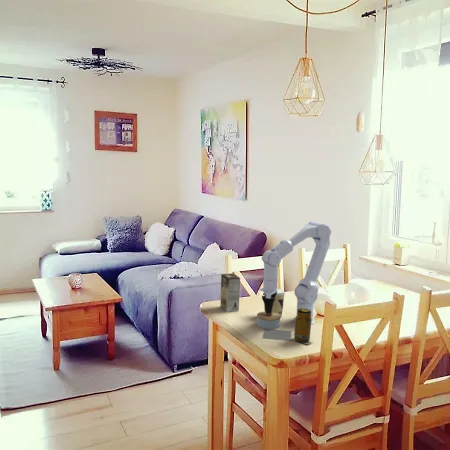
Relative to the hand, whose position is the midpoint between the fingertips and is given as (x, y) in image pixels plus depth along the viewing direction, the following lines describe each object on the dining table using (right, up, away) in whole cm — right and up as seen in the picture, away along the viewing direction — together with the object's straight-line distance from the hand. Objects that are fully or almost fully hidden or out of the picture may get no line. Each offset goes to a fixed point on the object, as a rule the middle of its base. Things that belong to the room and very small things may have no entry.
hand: (269, 310), depth 203 cm
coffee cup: (+3, -5, +13) cm, 15 cm away
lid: (0, -3, 0) cm, 3 cm away
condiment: (+12, -9, -16) cm, 22 cm away
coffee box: (-16, -4, +23) cm, 28 cm away
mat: (+2, -8, -11) cm, 14 cm away
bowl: (0, -7, +1) cm, 7 cm away
